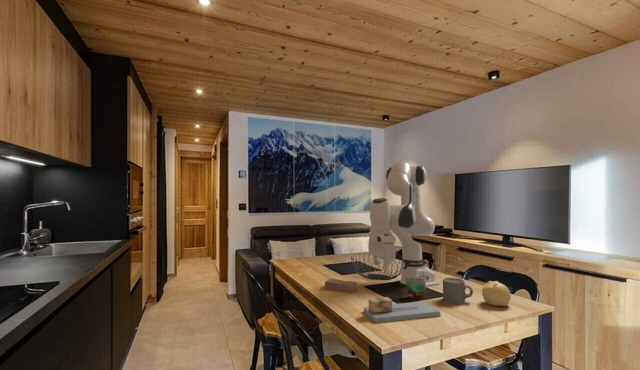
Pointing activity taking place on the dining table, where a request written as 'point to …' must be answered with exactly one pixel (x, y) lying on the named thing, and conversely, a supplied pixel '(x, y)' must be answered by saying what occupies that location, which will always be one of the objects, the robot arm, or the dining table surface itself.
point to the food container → (416, 287)
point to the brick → (340, 285)
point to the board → (404, 312)
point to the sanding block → (380, 305)
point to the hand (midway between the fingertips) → (380, 267)
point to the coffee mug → (455, 290)
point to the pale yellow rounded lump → (496, 293)
